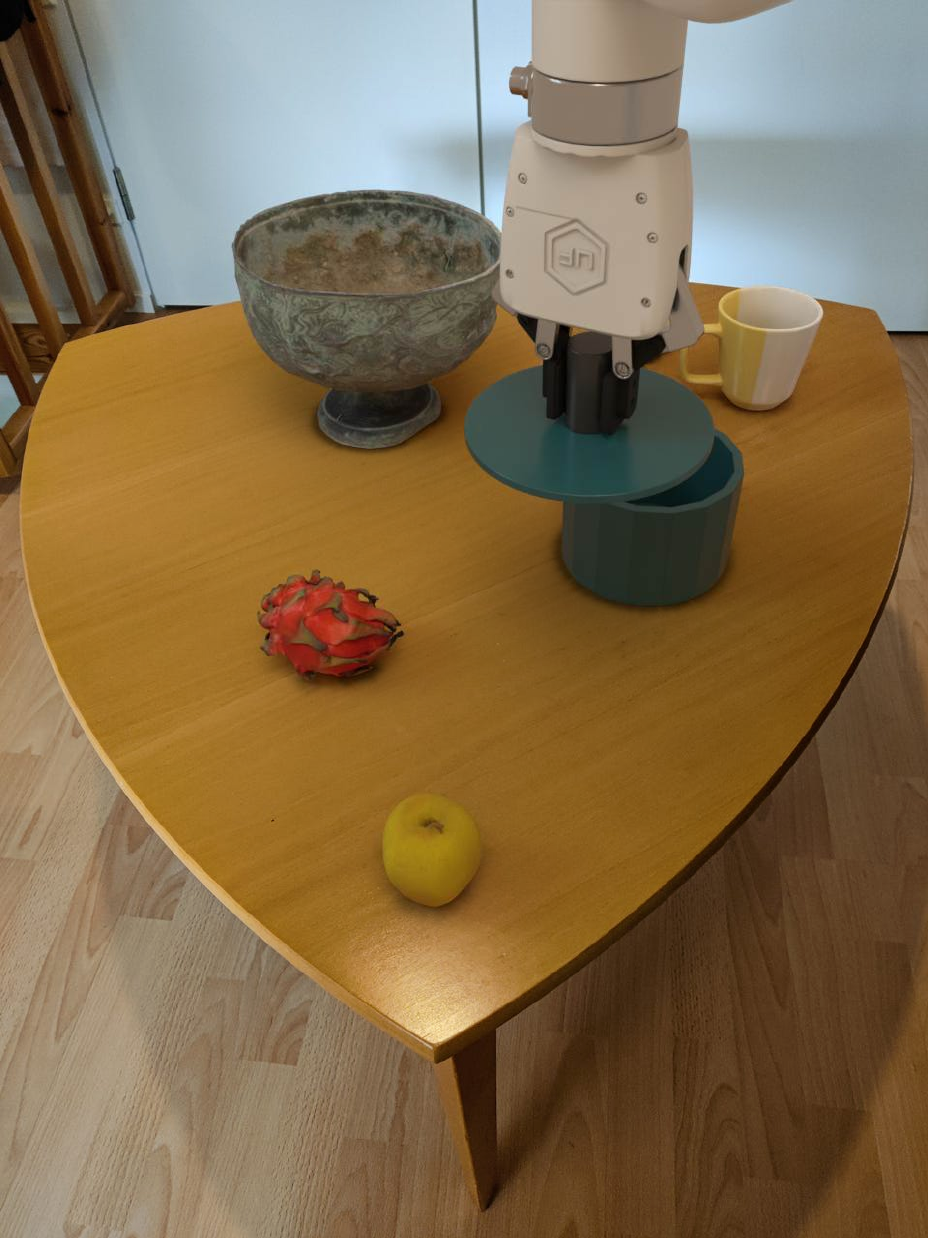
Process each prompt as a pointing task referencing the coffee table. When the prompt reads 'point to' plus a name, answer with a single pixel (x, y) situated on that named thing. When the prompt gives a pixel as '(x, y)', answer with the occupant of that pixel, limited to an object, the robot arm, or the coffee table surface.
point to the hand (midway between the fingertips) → (588, 413)
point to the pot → (658, 536)
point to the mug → (760, 344)
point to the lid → (588, 432)
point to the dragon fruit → (325, 626)
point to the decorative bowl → (369, 302)
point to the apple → (431, 848)
